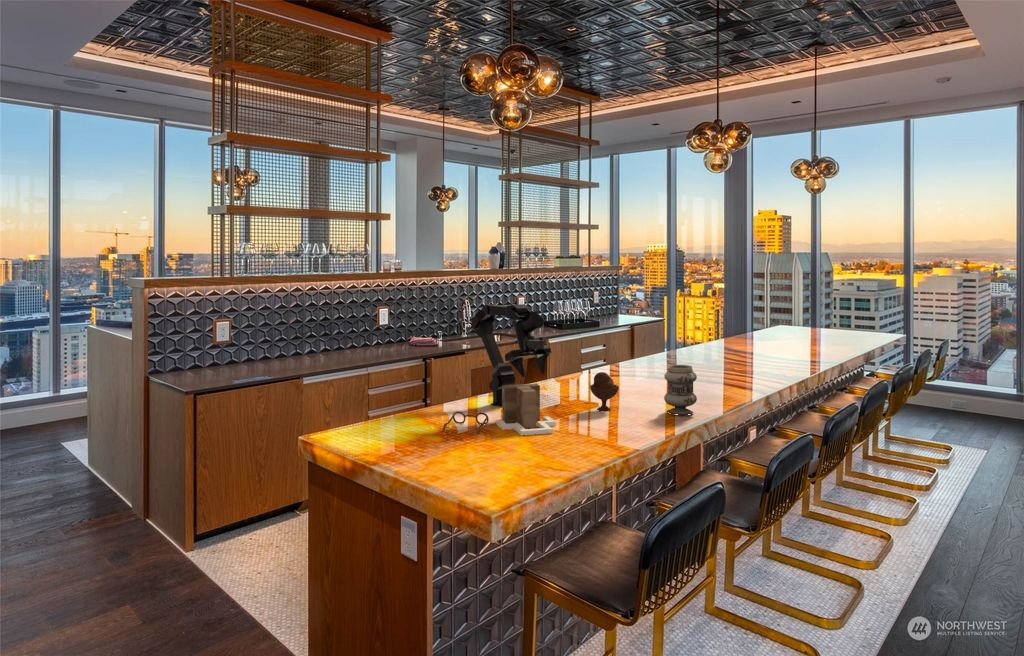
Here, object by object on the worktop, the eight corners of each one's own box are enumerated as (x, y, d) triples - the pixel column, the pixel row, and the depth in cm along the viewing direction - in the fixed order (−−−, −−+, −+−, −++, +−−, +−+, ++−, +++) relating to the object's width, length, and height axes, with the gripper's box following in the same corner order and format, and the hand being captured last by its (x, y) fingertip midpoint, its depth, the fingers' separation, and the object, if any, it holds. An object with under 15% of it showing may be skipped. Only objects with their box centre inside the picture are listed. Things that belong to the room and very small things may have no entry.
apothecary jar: (670, 408, 255) (671, 362, 253) (701, 412, 248) (702, 365, 246) (658, 414, 245) (659, 366, 243) (689, 418, 238) (690, 369, 236)
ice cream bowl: (618, 413, 245) (618, 374, 244) (588, 412, 248) (588, 373, 246) (619, 407, 256) (619, 369, 254) (590, 406, 258) (590, 369, 256)
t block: (502, 420, 236) (502, 385, 235) (536, 418, 239) (536, 383, 238) (511, 429, 224) (511, 392, 222) (547, 427, 227) (547, 390, 226)
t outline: (496, 424, 231) (496, 419, 231) (548, 420, 237) (548, 416, 236) (509, 436, 215) (509, 432, 215) (564, 432, 220) (564, 427, 220)
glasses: (489, 426, 230) (488, 412, 230) (478, 435, 218) (478, 421, 217) (453, 424, 233) (453, 410, 233) (441, 433, 221) (441, 419, 220)
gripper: (516, 331, 236) (526, 373, 233) (555, 328, 247) (565, 367, 244) (499, 340, 245) (509, 380, 242) (538, 336, 256) (547, 374, 253)
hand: (533, 375), depth 245 cm, fingers open, 9 cm apart
